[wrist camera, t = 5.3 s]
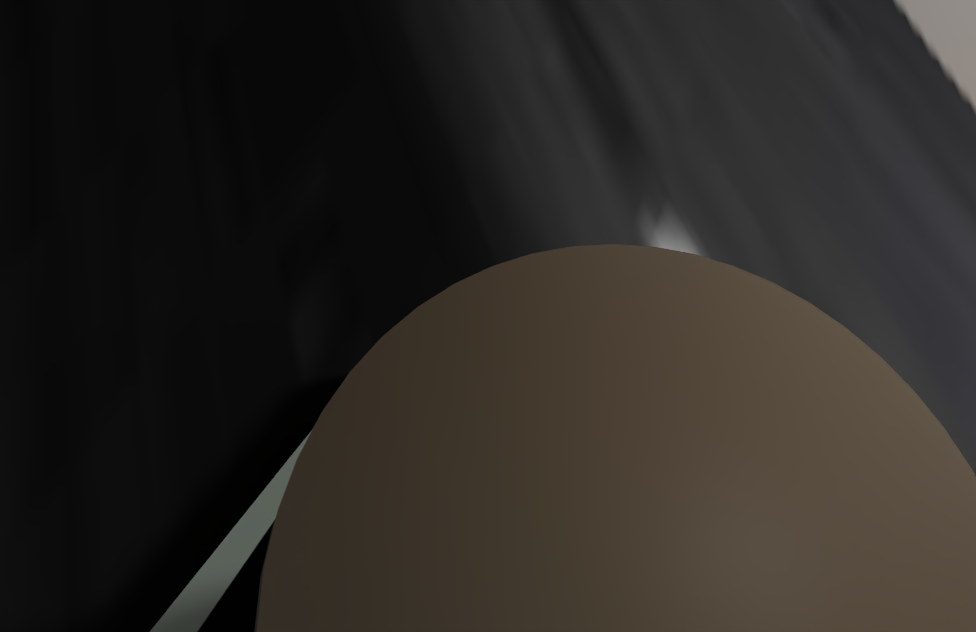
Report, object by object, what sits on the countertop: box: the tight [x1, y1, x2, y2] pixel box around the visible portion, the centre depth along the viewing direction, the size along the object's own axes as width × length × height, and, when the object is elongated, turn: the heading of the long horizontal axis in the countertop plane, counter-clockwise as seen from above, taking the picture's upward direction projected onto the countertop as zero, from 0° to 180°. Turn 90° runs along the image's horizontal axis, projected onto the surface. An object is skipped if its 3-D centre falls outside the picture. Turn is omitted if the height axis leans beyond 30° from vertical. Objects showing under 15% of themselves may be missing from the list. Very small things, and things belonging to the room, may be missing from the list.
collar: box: [150, 429, 313, 632], centre depth 17 cm, size 10×10×2 cm
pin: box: [254, 244, 976, 632], centre depth 9 cm, size 4×4×12 cm
